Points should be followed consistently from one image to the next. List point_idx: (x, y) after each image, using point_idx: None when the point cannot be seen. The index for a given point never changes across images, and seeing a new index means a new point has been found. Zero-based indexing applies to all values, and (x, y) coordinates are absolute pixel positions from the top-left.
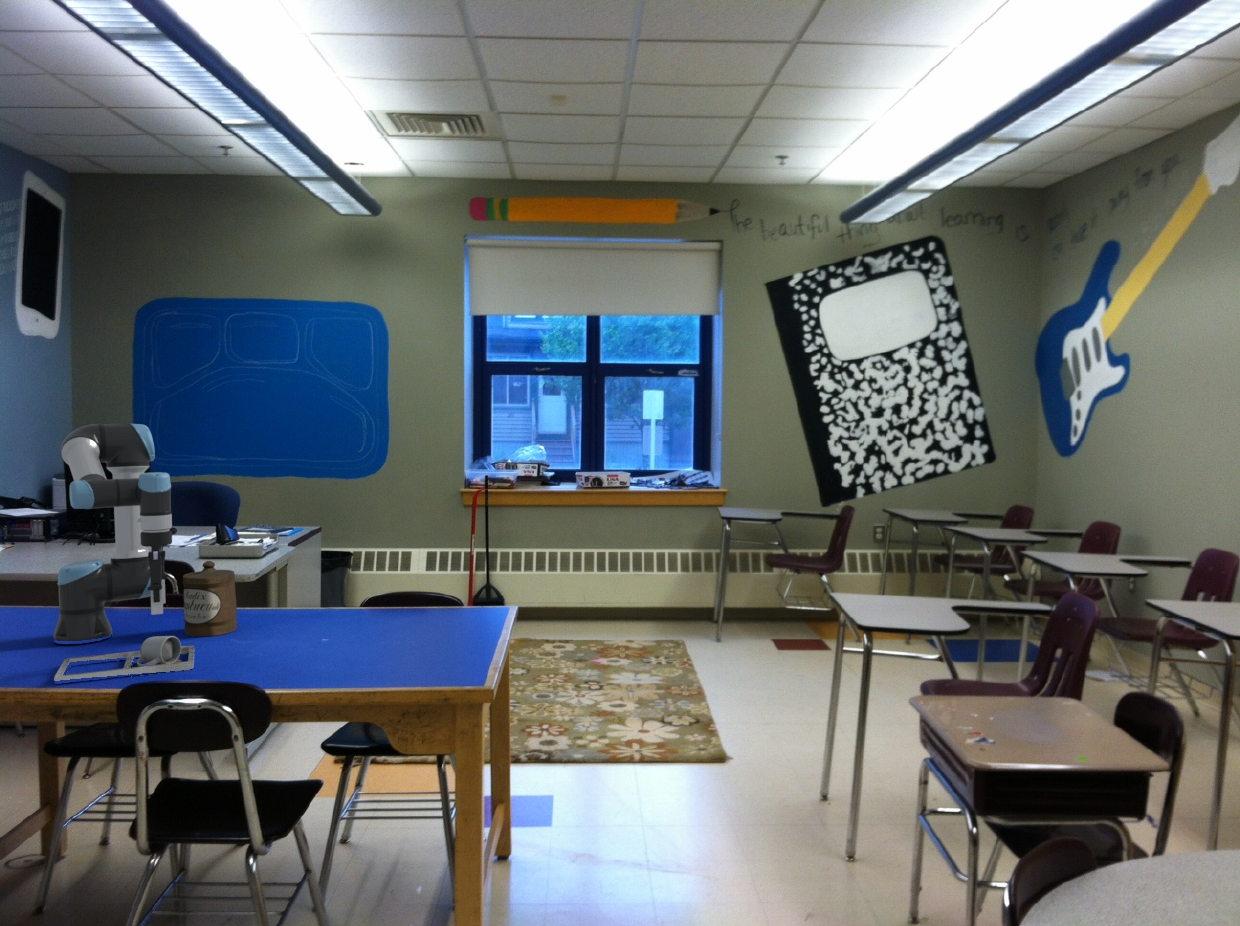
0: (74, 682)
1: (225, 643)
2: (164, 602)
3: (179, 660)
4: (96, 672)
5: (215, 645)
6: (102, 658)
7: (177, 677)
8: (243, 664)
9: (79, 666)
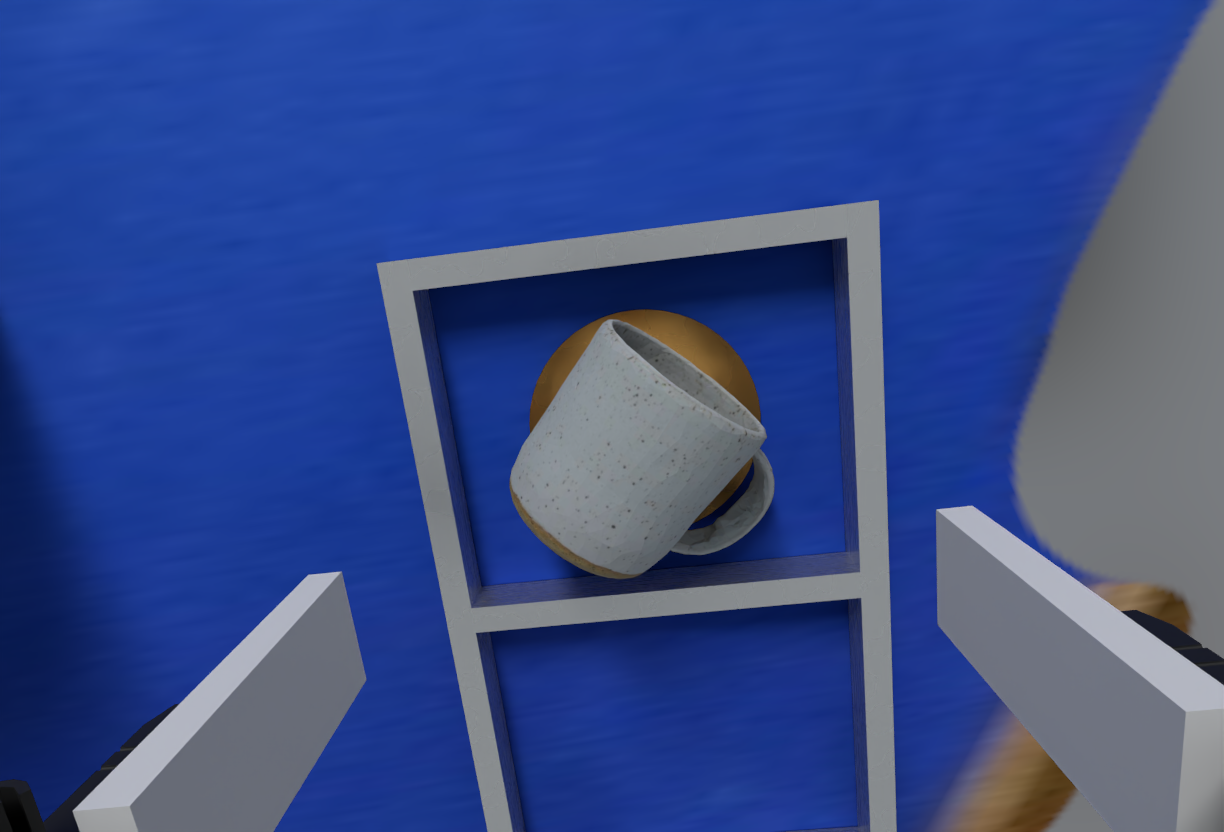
0: None
1: (186, 75)
2: (338, 584)
3: None
4: (889, 714)
5: (232, 143)
6: (502, 742)
7: (1017, 276)
8: None
9: (542, 811)
